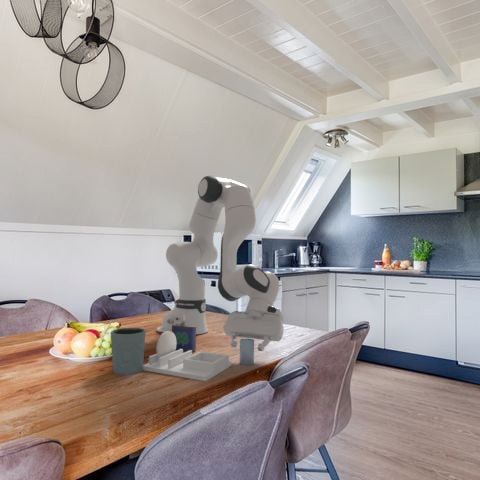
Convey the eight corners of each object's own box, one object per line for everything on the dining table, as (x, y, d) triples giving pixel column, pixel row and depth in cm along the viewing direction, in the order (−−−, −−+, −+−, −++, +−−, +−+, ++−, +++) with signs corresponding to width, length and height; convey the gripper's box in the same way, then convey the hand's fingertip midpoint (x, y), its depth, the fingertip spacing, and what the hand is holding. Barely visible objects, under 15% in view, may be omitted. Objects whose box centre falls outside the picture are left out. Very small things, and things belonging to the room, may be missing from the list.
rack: (141, 369, 116) (142, 335, 116) (172, 356, 131) (173, 326, 131) (205, 381, 107) (206, 343, 107) (231, 365, 121) (231, 332, 122)
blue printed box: (196, 350, 138) (197, 320, 139) (193, 353, 136) (193, 322, 136) (173, 348, 141) (173, 319, 141) (169, 350, 138) (169, 320, 138)
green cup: (125, 378, 109) (126, 335, 109) (102, 372, 114) (103, 331, 115) (152, 369, 118) (152, 329, 118) (129, 364, 123) (129, 325, 123)
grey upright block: (237, 363, 124) (237, 340, 124) (243, 360, 128) (243, 338, 128) (250, 365, 122) (250, 342, 122) (256, 361, 126) (256, 339, 126)
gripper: (228, 305, 136) (214, 339, 127) (284, 309, 127) (273, 346, 118) (233, 316, 140) (220, 349, 131) (288, 321, 131) (278, 357, 122)
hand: (246, 348), depth 124 cm, fingers open, 8 cm apart
